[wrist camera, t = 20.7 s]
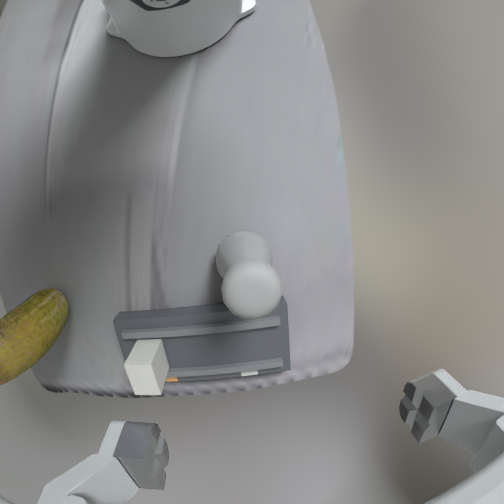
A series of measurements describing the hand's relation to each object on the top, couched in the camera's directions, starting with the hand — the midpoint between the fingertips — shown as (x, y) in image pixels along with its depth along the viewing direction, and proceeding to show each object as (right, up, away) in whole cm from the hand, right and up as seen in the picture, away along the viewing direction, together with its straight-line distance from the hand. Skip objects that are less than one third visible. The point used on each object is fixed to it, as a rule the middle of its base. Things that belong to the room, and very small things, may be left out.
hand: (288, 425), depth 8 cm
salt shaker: (-2, +5, +24) cm, 25 cm away
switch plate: (-7, -5, +26) cm, 27 cm away
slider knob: (-13, -7, +23) cm, 27 cm away
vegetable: (-26, -2, +24) cm, 35 cm away
